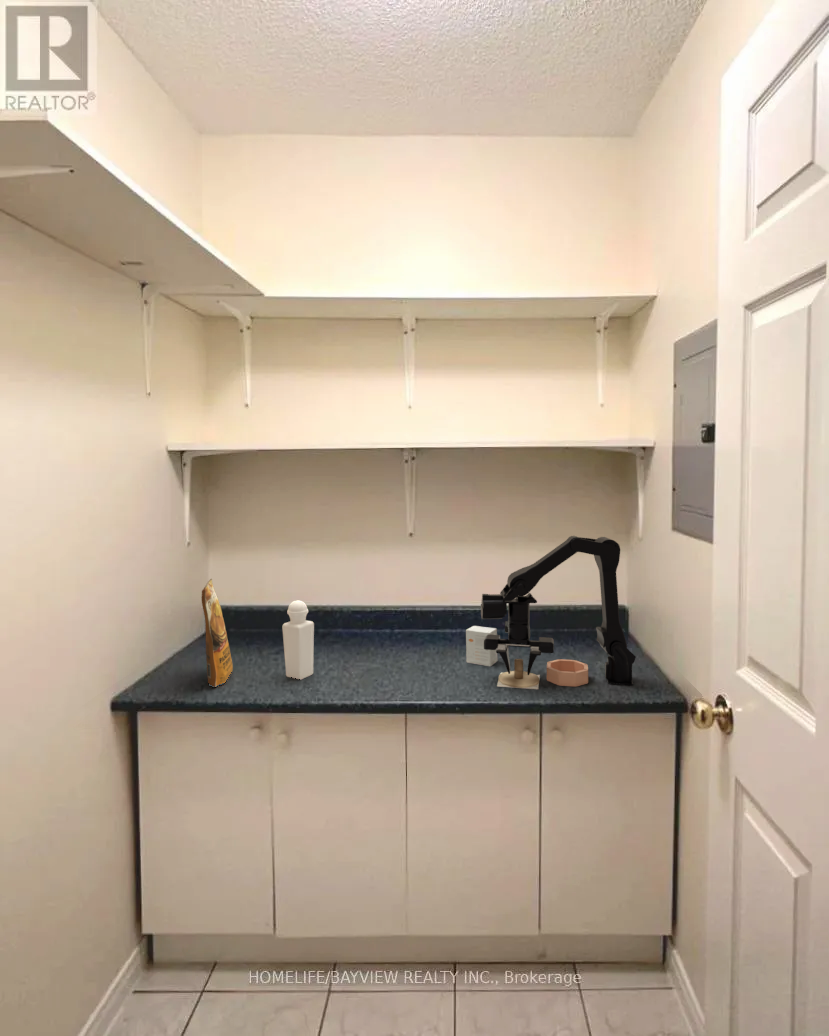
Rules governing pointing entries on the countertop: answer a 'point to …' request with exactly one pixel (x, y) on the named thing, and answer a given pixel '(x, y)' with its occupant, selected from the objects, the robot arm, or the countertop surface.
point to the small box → (479, 646)
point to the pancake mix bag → (215, 638)
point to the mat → (515, 687)
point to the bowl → (567, 672)
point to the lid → (518, 677)
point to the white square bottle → (298, 642)
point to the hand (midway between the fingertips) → (518, 674)
